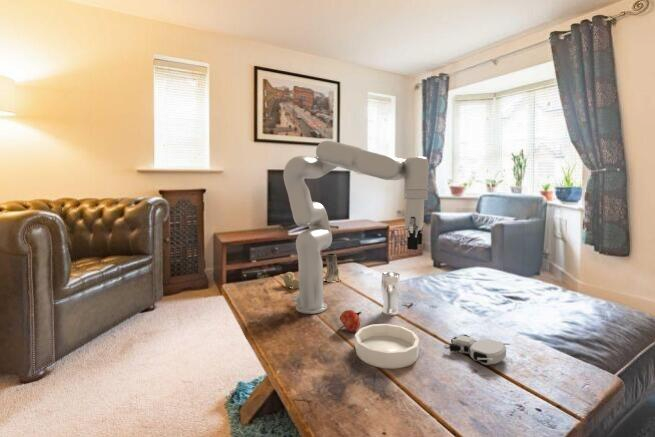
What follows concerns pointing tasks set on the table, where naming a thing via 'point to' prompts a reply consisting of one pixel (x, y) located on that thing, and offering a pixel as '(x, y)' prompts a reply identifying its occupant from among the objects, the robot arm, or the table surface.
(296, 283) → the cat figurine
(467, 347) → the robot toy
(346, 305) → the table surface
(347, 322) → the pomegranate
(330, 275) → the tree stump
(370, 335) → the fruit bowl
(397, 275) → the beer glass
